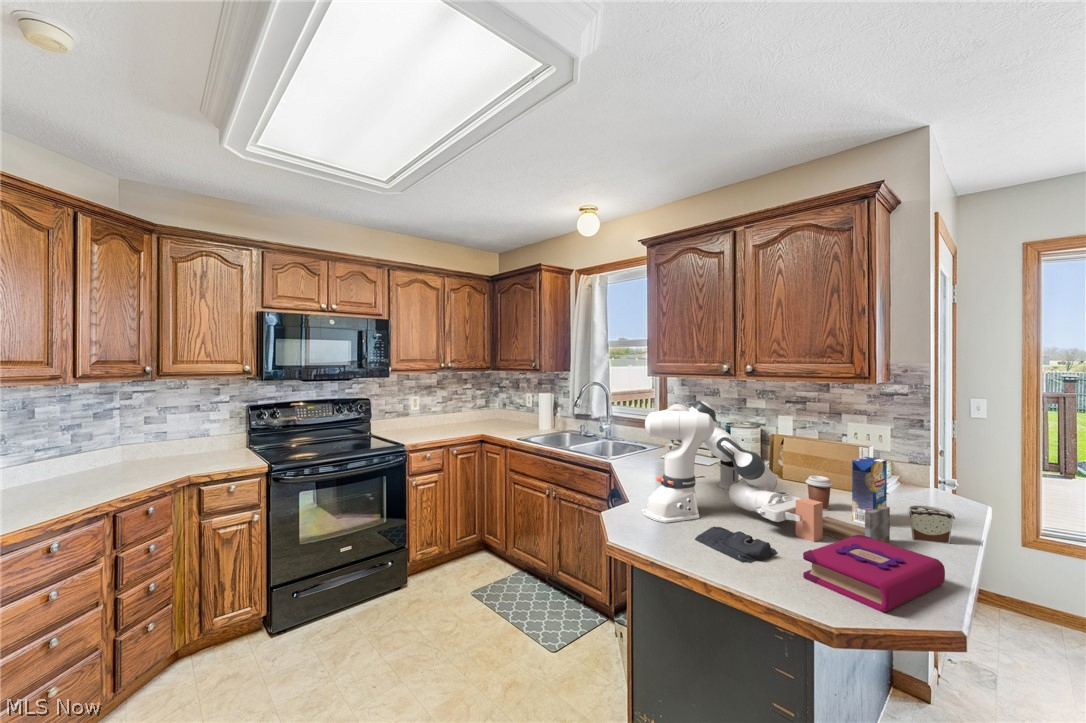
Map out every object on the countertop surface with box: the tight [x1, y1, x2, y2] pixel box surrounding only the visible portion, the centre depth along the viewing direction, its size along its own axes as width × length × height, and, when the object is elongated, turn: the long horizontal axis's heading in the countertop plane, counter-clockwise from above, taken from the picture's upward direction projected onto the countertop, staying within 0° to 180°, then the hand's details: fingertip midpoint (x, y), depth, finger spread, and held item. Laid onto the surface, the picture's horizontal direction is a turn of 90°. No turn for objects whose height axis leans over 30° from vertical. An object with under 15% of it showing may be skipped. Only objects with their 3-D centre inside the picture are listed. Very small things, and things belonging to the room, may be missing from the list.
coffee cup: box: [805, 475, 834, 512], centre depth 181 cm, size 9×9×12 cm
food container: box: [906, 505, 956, 545], centre depth 151 cm, size 12×6×10 cm, turn 71°
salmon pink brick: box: [795, 497, 824, 543], centre depth 153 cm, size 5×6×12 cm
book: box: [802, 535, 946, 614], centre depth 123 cm, size 21×28×8 cm
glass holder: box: [718, 459, 743, 490], centre depth 209 cm, size 9×14×15 cm, turn 32°
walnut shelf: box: [823, 506, 891, 543], centre depth 155 cm, size 12×20×11 cm, turn 29°
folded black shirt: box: [694, 526, 778, 564], centre depth 146 cm, size 15×22×5 cm
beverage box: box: [851, 456, 888, 525], centre depth 168 cm, size 7×11×22 cm, turn 124°
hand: (809, 516), depth 153 cm, fingers open, 8 cm apart
